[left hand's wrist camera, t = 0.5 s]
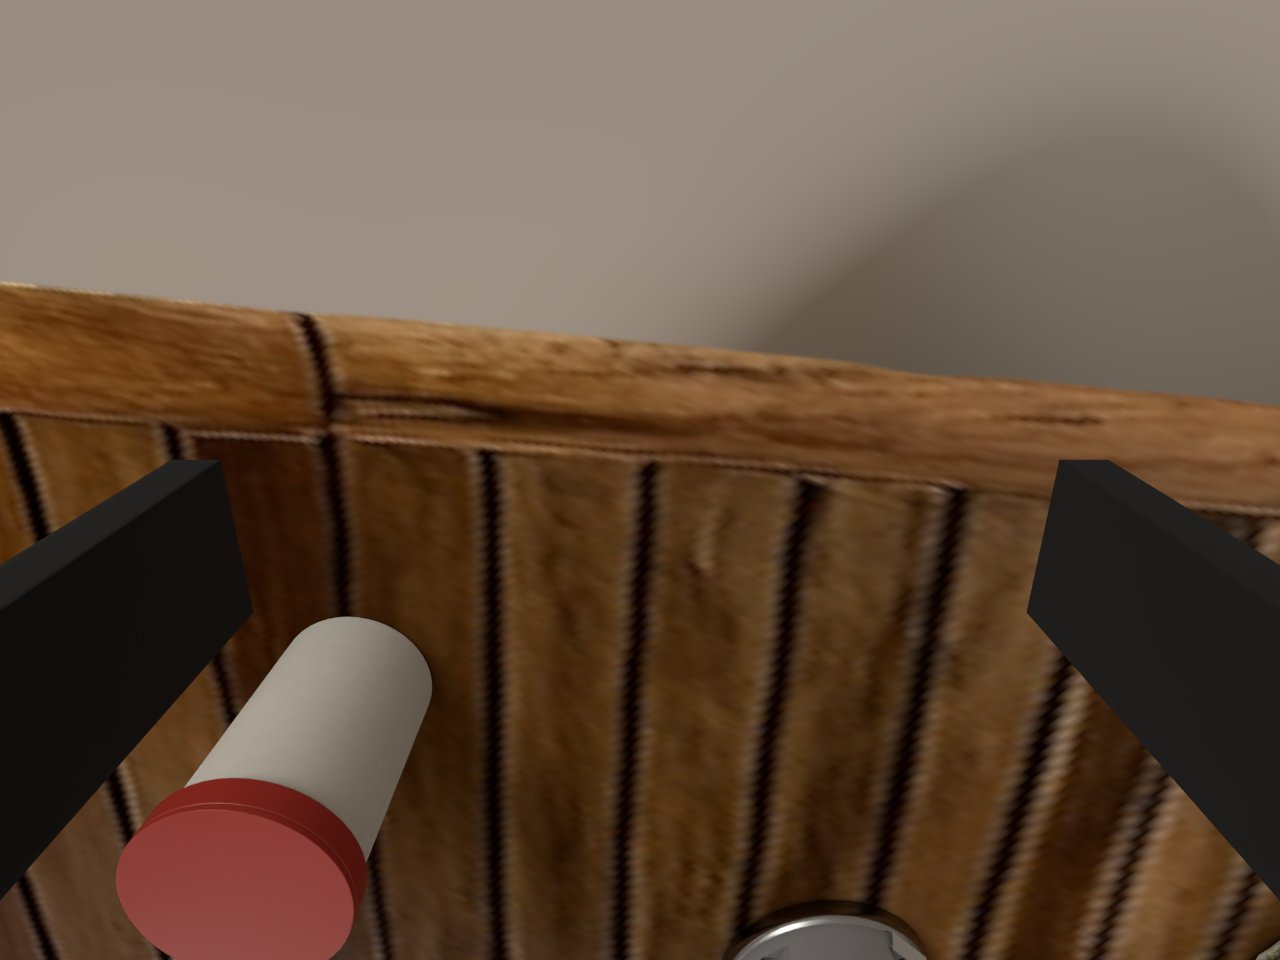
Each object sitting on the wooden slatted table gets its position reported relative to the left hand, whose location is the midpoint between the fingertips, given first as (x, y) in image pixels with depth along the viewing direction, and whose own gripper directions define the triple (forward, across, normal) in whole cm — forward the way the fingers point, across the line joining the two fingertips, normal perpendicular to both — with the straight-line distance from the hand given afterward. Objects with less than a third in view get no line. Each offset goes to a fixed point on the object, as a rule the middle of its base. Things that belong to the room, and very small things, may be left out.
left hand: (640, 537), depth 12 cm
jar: (+28, +17, +23) cm, 40 cm away
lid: (+13, +17, +23) cm, 32 cm away
